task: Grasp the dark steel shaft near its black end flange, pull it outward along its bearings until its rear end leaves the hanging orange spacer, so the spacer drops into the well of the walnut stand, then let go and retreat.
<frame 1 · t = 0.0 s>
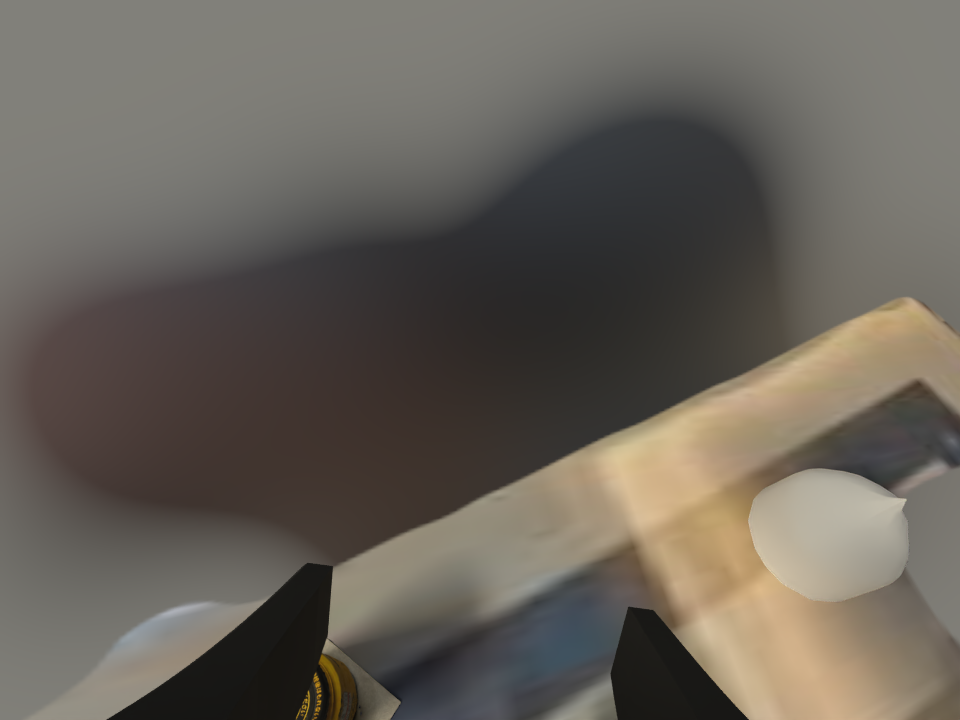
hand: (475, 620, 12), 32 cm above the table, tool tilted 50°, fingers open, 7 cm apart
condiment: (324, 713, 37), on the table
teardrop: (804, 539, 47), on the table
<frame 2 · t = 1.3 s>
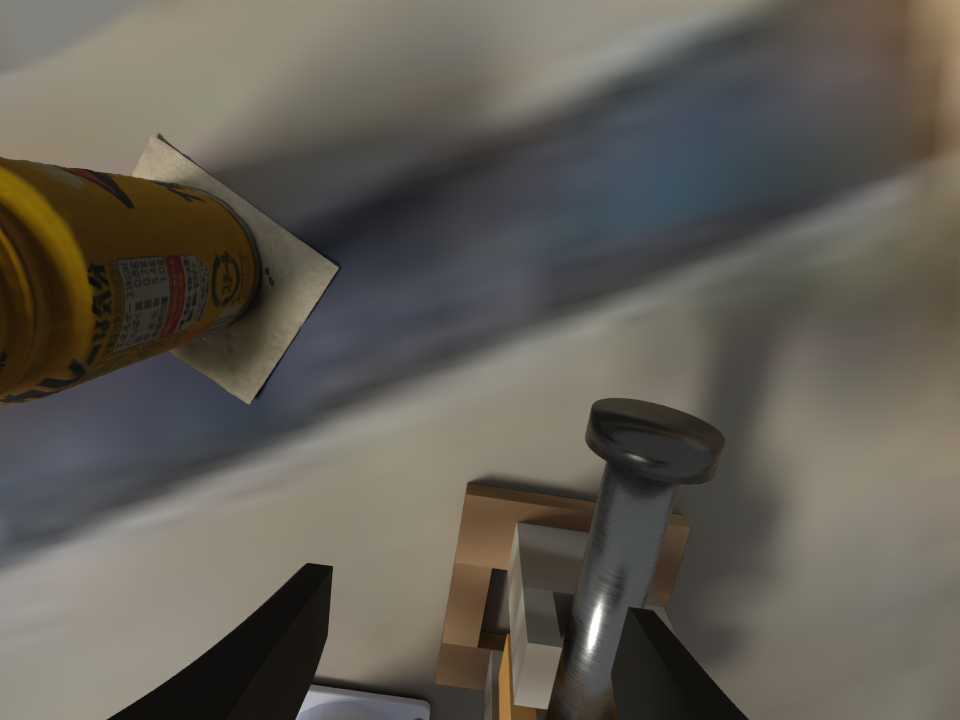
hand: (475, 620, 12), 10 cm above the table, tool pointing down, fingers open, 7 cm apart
shaft: (602, 624, 17), point 7 cm above the table, slide at 0.0 cm, touching spacer
spacer: (561, 663, 21), point 3 cm above the table, touching shaft
condiment: (209, 277, 21), on the table
bearing stand: (560, 563, 24), on the table
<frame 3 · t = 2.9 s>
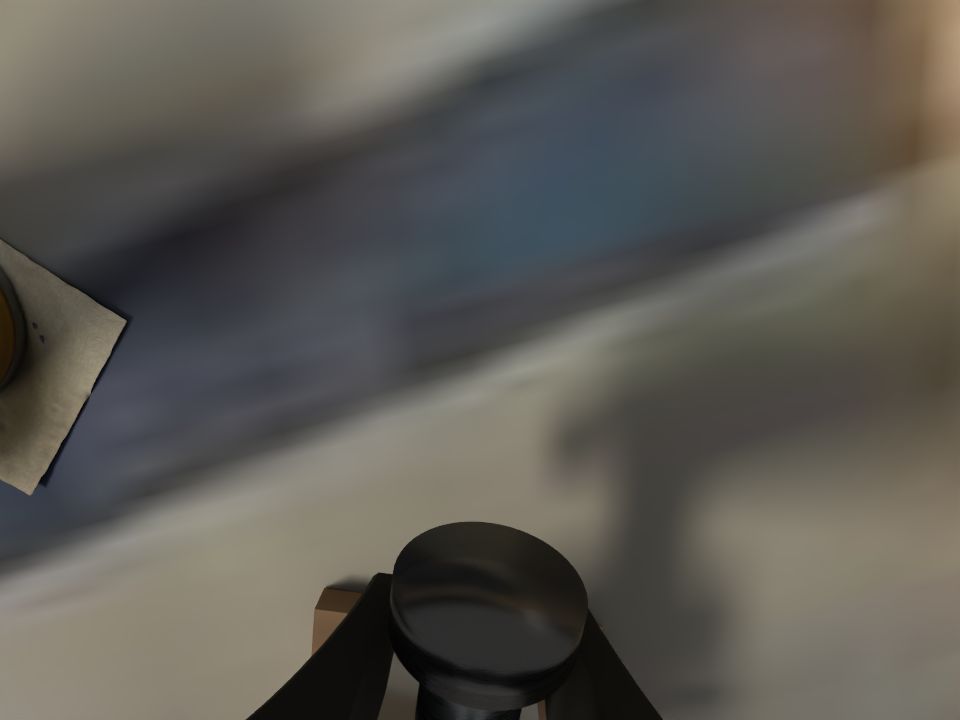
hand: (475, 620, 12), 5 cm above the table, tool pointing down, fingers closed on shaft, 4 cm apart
bearing stand: (451, 684, 19), on the table
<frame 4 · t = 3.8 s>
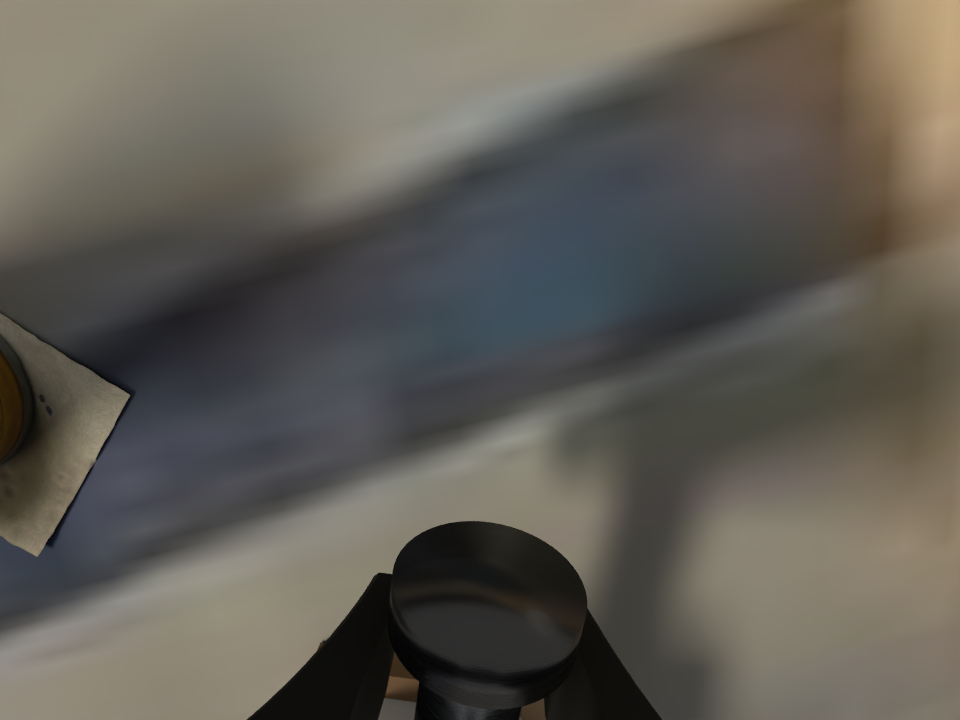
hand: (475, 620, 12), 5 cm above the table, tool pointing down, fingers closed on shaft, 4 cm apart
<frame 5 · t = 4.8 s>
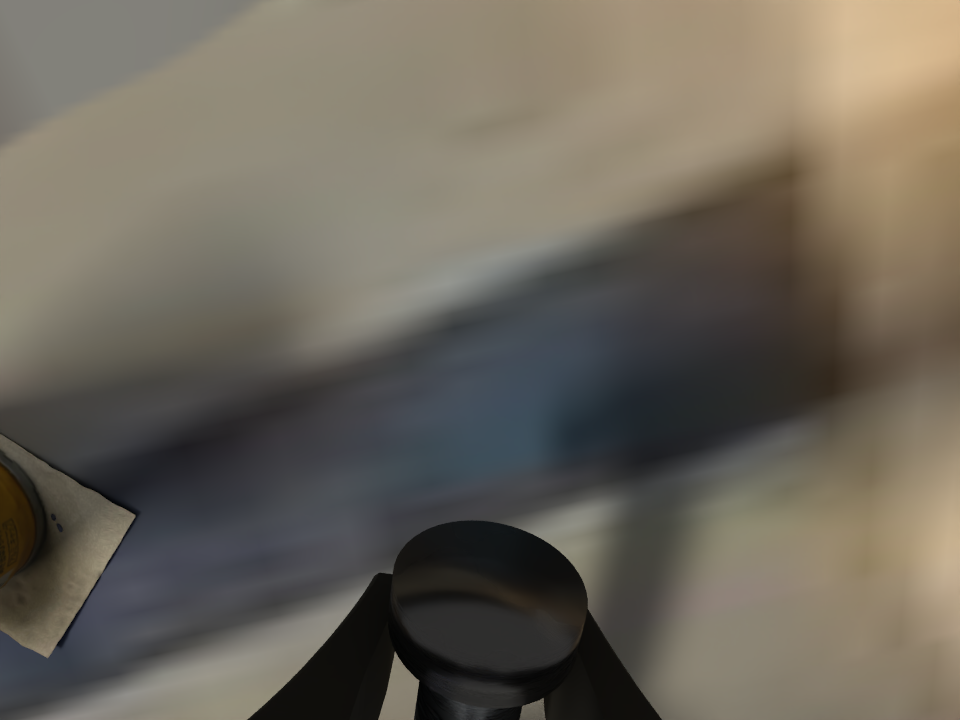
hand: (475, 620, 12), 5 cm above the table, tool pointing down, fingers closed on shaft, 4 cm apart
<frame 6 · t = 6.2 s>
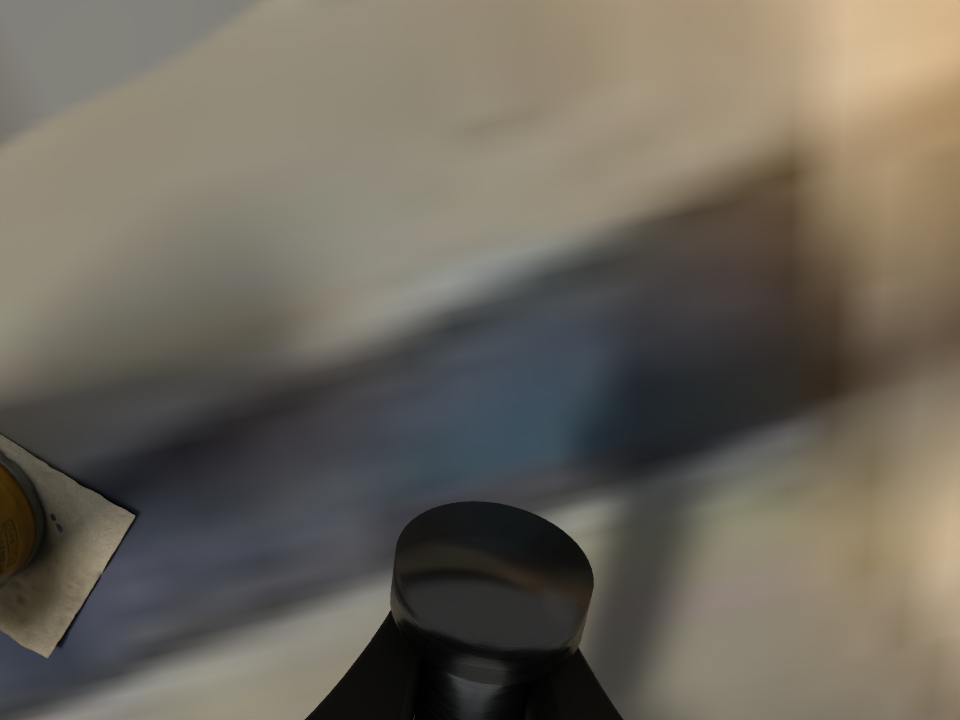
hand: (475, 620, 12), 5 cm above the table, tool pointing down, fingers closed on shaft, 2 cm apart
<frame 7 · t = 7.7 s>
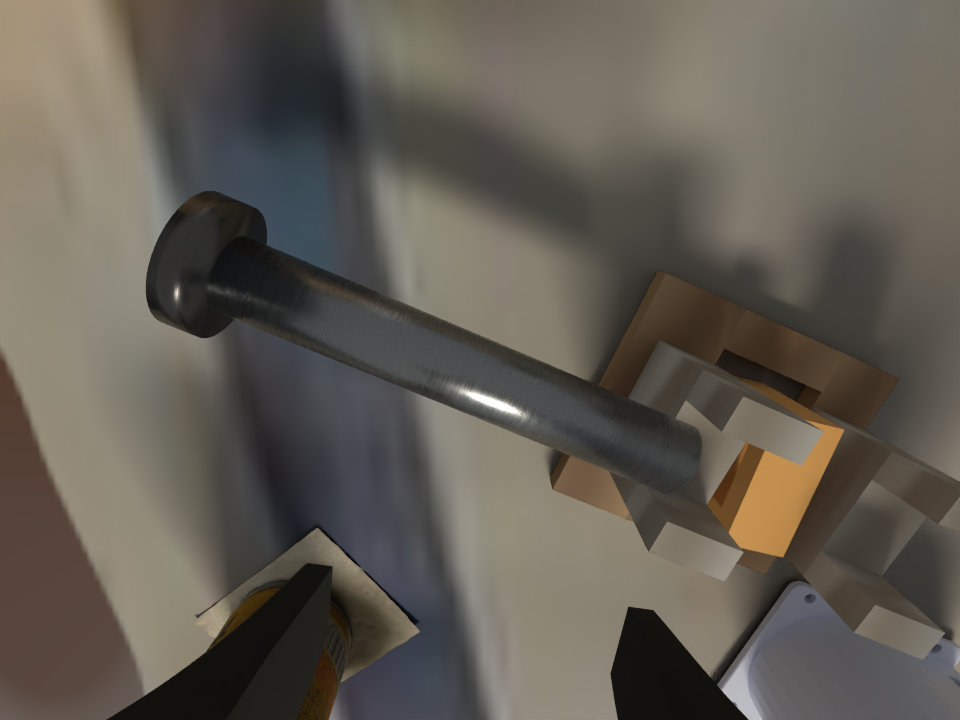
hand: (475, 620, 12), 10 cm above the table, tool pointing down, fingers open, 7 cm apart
shaft: (448, 363, 14), point 6 cm above the table, slide at 7.3 cm
spacer: (716, 429, 22), resting in bearing stand
condiment: (309, 619, 25), on the table
bearing stand: (673, 411, 21), on the table
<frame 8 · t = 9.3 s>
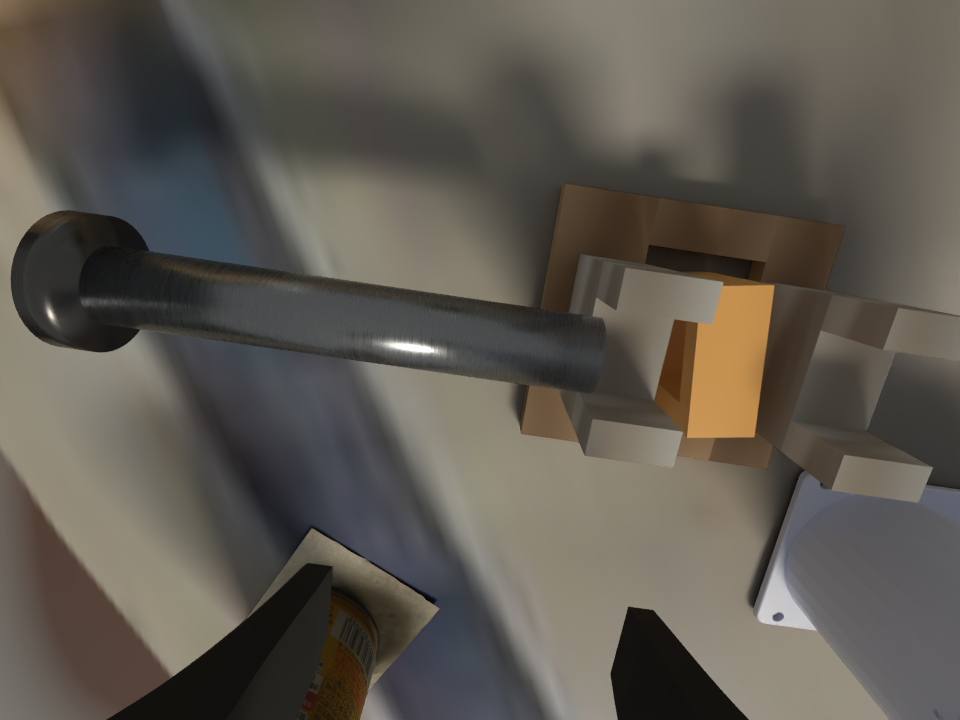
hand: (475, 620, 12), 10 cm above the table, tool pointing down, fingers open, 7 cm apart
shaft: (336, 318, 14), point 7 cm above the table, slide at 7.3 cm
spacer: (673, 332, 21), resting in bearing stand
condiment: (333, 620, 25), on the table
bearing stand: (623, 325, 20), on the table
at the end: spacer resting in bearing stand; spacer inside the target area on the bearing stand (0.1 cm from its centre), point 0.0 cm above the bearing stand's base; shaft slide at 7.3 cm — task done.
